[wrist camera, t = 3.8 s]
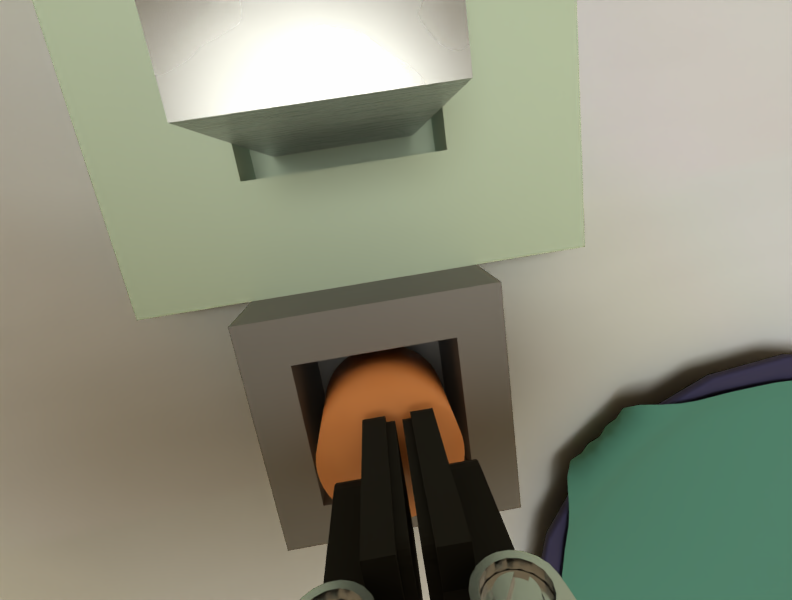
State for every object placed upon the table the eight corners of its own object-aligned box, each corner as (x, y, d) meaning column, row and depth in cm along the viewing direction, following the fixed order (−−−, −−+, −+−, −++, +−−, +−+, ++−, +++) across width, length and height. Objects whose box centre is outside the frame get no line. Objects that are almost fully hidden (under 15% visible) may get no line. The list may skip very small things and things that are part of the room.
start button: (448, 439, 14) (471, 506, 11) (337, 459, 14) (331, 532, 11) (434, 335, 13) (455, 378, 10) (315, 355, 13) (301, 405, 10)
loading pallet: (560, 405, 18) (633, 486, 13) (221, 465, 17) (167, 572, 13) (501, -688, 10) (626, -1466, 5) (-110, -638, 10) (-577, -1454, 5)
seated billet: (412, 135, 14) (476, 74, 6) (273, 157, 14) (161, 120, 6) (391, -25, 13) (437, -347, 5) (238, -5, 13) (44, -305, 5)
